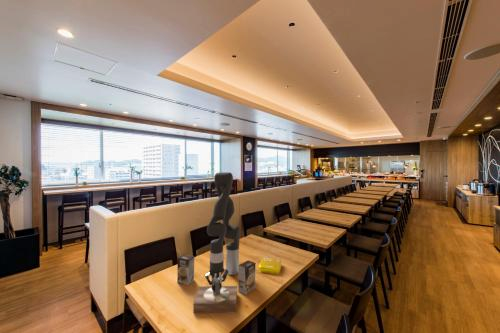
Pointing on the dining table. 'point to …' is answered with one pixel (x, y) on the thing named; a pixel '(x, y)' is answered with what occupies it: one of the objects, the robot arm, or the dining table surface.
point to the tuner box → (215, 300)
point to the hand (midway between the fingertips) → (216, 289)
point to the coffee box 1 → (185, 269)
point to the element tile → (270, 265)
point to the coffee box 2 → (246, 277)
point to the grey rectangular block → (217, 288)
